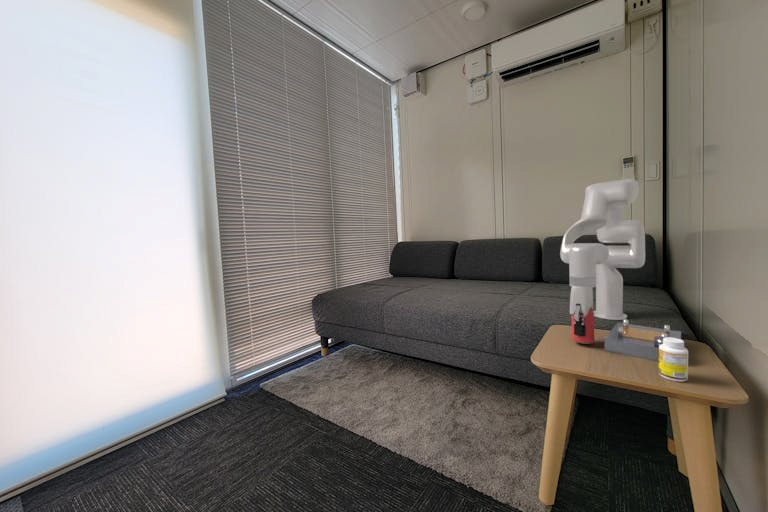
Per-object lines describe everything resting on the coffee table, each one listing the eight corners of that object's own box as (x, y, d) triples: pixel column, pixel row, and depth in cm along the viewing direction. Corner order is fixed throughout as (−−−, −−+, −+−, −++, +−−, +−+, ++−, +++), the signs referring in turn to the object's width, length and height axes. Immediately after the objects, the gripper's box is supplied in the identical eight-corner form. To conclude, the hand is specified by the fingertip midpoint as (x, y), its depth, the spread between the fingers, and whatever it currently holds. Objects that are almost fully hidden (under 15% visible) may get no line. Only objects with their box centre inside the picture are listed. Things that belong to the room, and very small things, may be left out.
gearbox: (618, 330, 114) (619, 313, 114) (681, 340, 102) (681, 321, 101) (604, 350, 97) (604, 329, 97) (677, 365, 85) (677, 341, 84)
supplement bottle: (665, 370, 82) (665, 334, 81) (692, 379, 77) (693, 341, 76) (653, 375, 80) (654, 338, 79) (681, 384, 75) (682, 345, 74)
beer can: (587, 337, 106) (587, 304, 105) (598, 344, 99) (598, 309, 98) (567, 337, 107) (567, 304, 106) (577, 344, 100) (577, 309, 99)
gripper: (576, 276, 110) (577, 324, 111) (561, 285, 98) (562, 337, 100) (601, 278, 104) (601, 327, 106) (588, 287, 93) (589, 342, 94)
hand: (582, 332), depth 103 cm, fingers closed on beer can, 6 cm apart
